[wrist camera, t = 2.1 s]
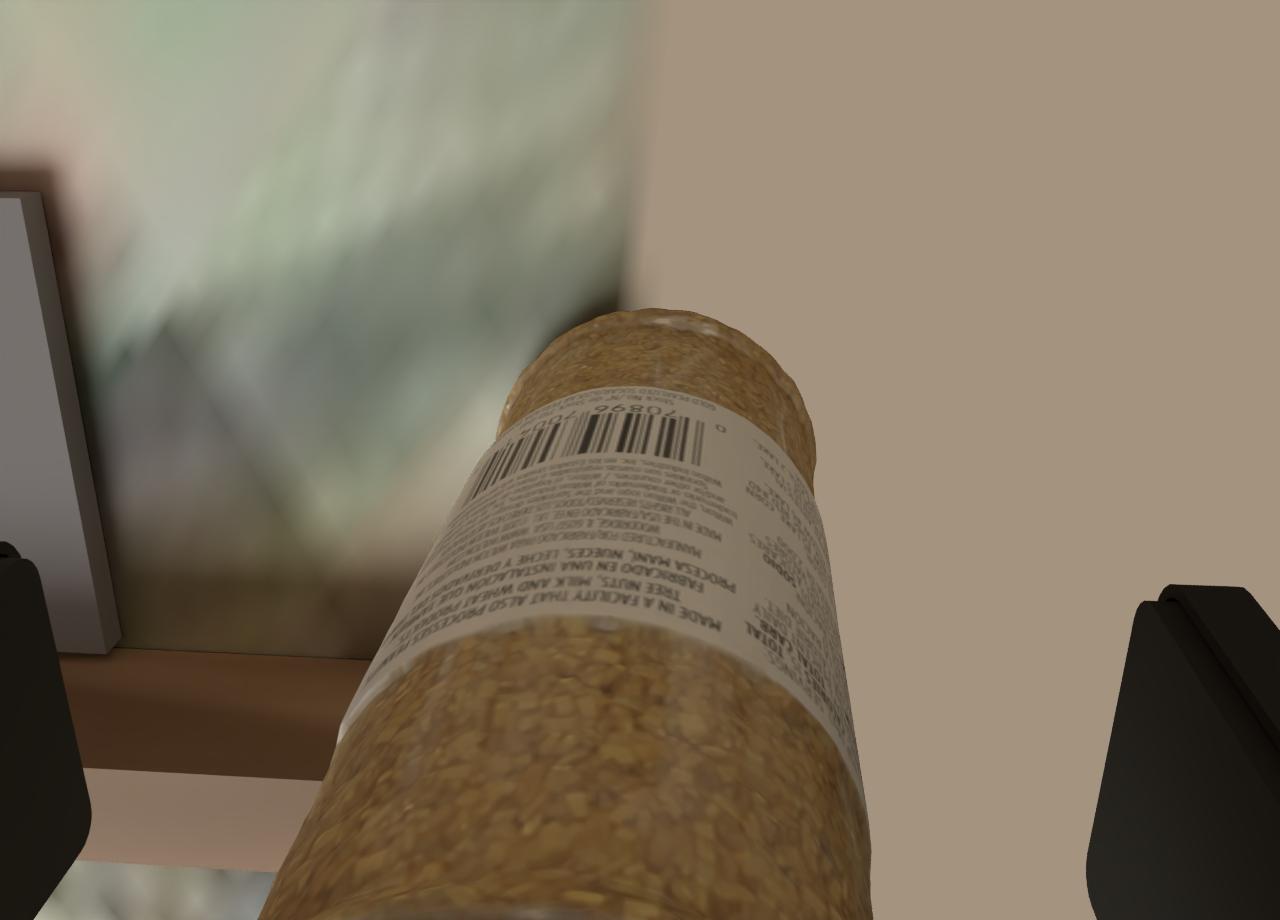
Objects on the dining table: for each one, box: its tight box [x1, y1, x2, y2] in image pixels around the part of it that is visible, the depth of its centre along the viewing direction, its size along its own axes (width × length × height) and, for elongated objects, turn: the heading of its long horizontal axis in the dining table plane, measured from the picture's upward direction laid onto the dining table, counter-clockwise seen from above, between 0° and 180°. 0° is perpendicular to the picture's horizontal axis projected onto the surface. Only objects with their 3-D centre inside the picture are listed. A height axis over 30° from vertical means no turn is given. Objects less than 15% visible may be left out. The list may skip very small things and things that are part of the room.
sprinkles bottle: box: [257, 308, 873, 920], centre depth 11 cm, size 5×5×14 cm
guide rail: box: [57, 648, 372, 872], centre depth 18 cm, size 2×17×3 cm, turn 90°
